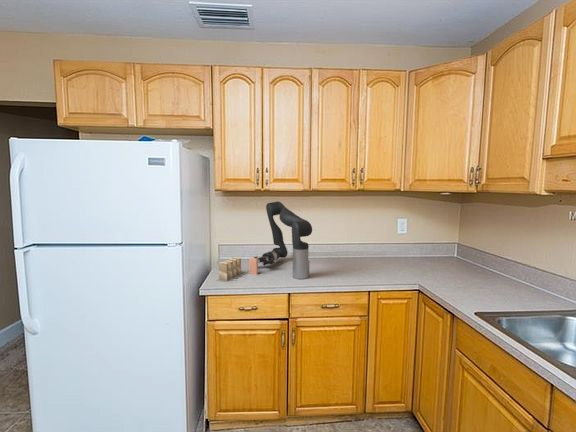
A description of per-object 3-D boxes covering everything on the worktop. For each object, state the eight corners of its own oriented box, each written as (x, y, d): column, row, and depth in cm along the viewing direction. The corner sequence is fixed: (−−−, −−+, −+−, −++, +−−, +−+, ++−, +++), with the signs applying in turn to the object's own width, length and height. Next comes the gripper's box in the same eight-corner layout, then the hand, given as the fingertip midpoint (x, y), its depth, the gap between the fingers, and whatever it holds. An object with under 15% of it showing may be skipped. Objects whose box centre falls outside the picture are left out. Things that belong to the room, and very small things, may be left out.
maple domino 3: (229, 275, 197) (229, 258, 196) (237, 276, 195) (236, 259, 194) (228, 275, 196) (228, 259, 195) (235, 276, 194) (235, 260, 193)
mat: (237, 271, 208) (237, 270, 208) (248, 272, 205) (248, 271, 204) (215, 281, 187) (215, 280, 187) (227, 283, 183) (227, 282, 183)
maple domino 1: (220, 279, 189) (220, 262, 188) (228, 280, 187) (228, 262, 186) (219, 280, 188) (218, 262, 187) (226, 281, 186) (226, 263, 185)
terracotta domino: (250, 273, 202) (250, 257, 201) (257, 274, 200) (257, 258, 199) (249, 274, 201) (249, 258, 200) (256, 275, 199) (256, 259, 198)
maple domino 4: (233, 273, 201) (233, 257, 200) (241, 274, 199) (240, 257, 198) (232, 274, 200) (232, 257, 199) (239, 275, 198) (239, 258, 197)
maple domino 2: (225, 277, 193) (225, 260, 192) (232, 278, 191) (232, 261, 190) (224, 278, 192) (223, 261, 191) (231, 279, 190) (231, 261, 189)
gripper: (259, 250, 222) (247, 255, 207) (279, 252, 216) (268, 257, 201) (260, 262, 223) (247, 267, 208) (279, 264, 217) (268, 270, 202)
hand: (257, 262), depth 205 cm, fingers open, 8 cm apart
